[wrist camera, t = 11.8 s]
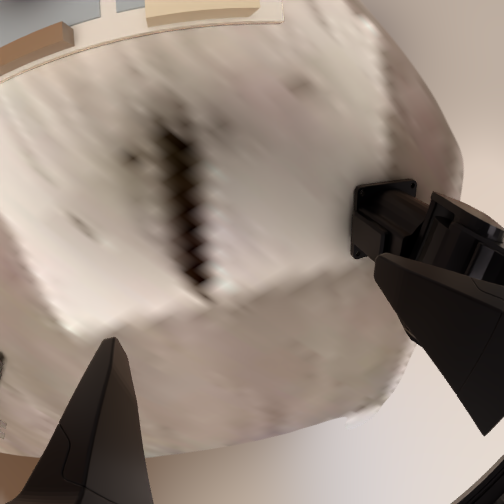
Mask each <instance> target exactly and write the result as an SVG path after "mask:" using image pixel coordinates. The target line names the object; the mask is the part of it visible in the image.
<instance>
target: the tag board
mask: <svg viewBox="0 0 504 504" xmlns="http://www.w3.org/2000/svg"><path fill="white" fill-rule="evenodd" d="M282 22H284V15H283V6H282V0H0V83H2V82H4V81H6V80H8V79H11V78H13V77H15V76H17V75H19V74H22V73H24V72H26V71H29V70H31V69H33V68H36V67H38V66H41V65H43V64H46V63H49V62H51V61H54V60H57V59H60V58H62V57H65V56H68V55H71V54H74V53H77V52H81V51H84V50H87V49H91V48H94V47H98V46H101V45H105V44H109V43H113V42H117V41H121V40H125V39H130V38H134V37H139V36H144V35H149V34H155V33H160V32H166V31H173V30H180V29H187V28H196V27H206V26H217V25H233V24H280V23H282Z"/></svg>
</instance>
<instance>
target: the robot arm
mask: <svg viewBox="0 0 504 504" xmlns="http://www.w3.org/2000/svg"><path fill="white" fill-rule="evenodd" d="M411 184H412V185H411ZM416 187H417V183H416V181H415V180H413V179H405V180H397V181H389V182H381V183H373V184H366V185H359V186H358V187H356V189H355V195H354V213H353V220H352V235H351V241H352V246H351V255H352V257H353V258H355V259H359V258H363V257H367V256H368V257H370V258H371V259H372V260H373V261H374V262H375V269H374V279H375V281H376V283H377V284H378V286H379V287H380V289H381V290H382V292H383V293H384V295H385V297H386V298H387V300H388V301H389V303H390V304H391V306H392V307H393V309H394V310H395V312H396V313H397V315H398V317H399V319H400V321H401V323H402V325H403V327H404V329H405V331H406V333H407V334H408V336H409V337H410V339H411V340H412V341H414V342H415V343H417V344H418V345H420V346H421V347H423V348H424V350H425V351H426V353H427V354H428V355H429V357H430V358H431V359H432V361H433V362H434V364H435V365H436V366H437V368H438V369H439V371H440V372H441V373H442V375H443V376H444V378H445V379H446V381H447V382H448V383H449V385H450V386H451V388H452V389H453V391H454V392H455V393H456V394H457V397H458V398H459V400H460V401H461V403H462V404H463V406H464V407H465V409H466V410H467V412H468V413H469V414H470V416H471V418H472V419H473V421H474V422H475V424H476V425H477V427H478V429H479V430H480V432H481V433H482V435H483V436H485V435H487V434H488V433H489V432H490V431H491V430H492V429H493V428H494V427H495V426H496V425H497V424H498V422H500V420H501V419H502V418H503V417H504V228H503V227H501V226H500V225H499V224H498V223H497V222H495V221H494V220H493V219H491V218H490V217H489V216H488V215H486V214H484V213H483V212H480V211H479V210H477V209H475V208H473V207H471V206H469V205H467V204H465V203H463V202H460V201H458V200H455V199H453V198H450V197H447V196H445V195H442V194H439V193H437V192H434V191H433V192H432V195H431V202H430V205H428V204H426V203H424V202H422V201H421V200H419V199H417V198H415V196H416ZM361 190H362V193H361V194H360V191H361ZM357 252H358V253H357ZM356 253H357V254H356ZM6 504H153V499H152V494H151V489H150V485H149V479H148V474H147V468H146V462H145V456H144V450H143V444H142V437H141V430H140V422H139V414H138V406H137V400H136V395H135V391H134V386H133V382H132V377H131V372H130V367H129V361H128V358H127V355H126V353H125V351H124V350H123V348H122V346H121V344H120V342H119V341H118V339H117V338H116V337H111V338H107V339H104V340H103V341H102V343H101V344H100V346H99V348H98V350H97V351H96V353H95V355H94V357H93V359H92V360H91V362H90V364H89V366H88V368H87V369H86V371H85V373H84V375H83V377H82V379H81V380H80V382H79V384H78V386H77V388H76V390H75V392H74V394H73V396H72V398H71V399H70V401H69V403H68V405H67V407H66V409H65V411H64V413H63V415H62V417H61V419H60V421H59V424H58V425H57V427H56V429H55V432H54V434H53V436H52V438H51V440H50V441H49V443H48V446H47V447H46V449H45V451H44V453H43V455H42V456H41V458H40V460H39V462H38V464H37V465H36V467H35V469H34V470H33V472H32V474H31V476H30V477H29V479H28V481H27V483H26V485H25V486H24V488H23V490H22V491H21V493H20V494H19V495H18V496H17V497H16V498H14V499H13V500H12V501H10V502H8V503H6ZM451 504H504V455H503V456H502V457H501V458H500V459H499V460H498V461H497V462H496V463H495V464H494V465H493V466H492V467H491V468H490V469H489V470H488V471H487V472H486V473H485V474H484V475H483V476H482V477H481V478H480V479H479V480H478V481H477V482H476V483H475V484H473V485H472V486H471V487H470V488H469V489H468V490H467V491H465V492H464V493H463V494H462V495H461V496H460V497H458V498H457V499H456V500H455V501H454V502H452V503H451Z"/></svg>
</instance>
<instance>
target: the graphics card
mask: <svg viewBox="0 0 504 504" xmlns="http://www.w3.org/2000/svg"><path fill="white" fill-rule="evenodd" d="M2 366H3V363H2V362H1V361H0V372H1V369H2ZM1 375H2V374H1V373H0V378H1ZM0 427H3V428H5V429H6V423H4V422H3V421H1V420H0ZM4 436H5V433H3V432H1V431H0V438H2V439H4Z"/></svg>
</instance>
